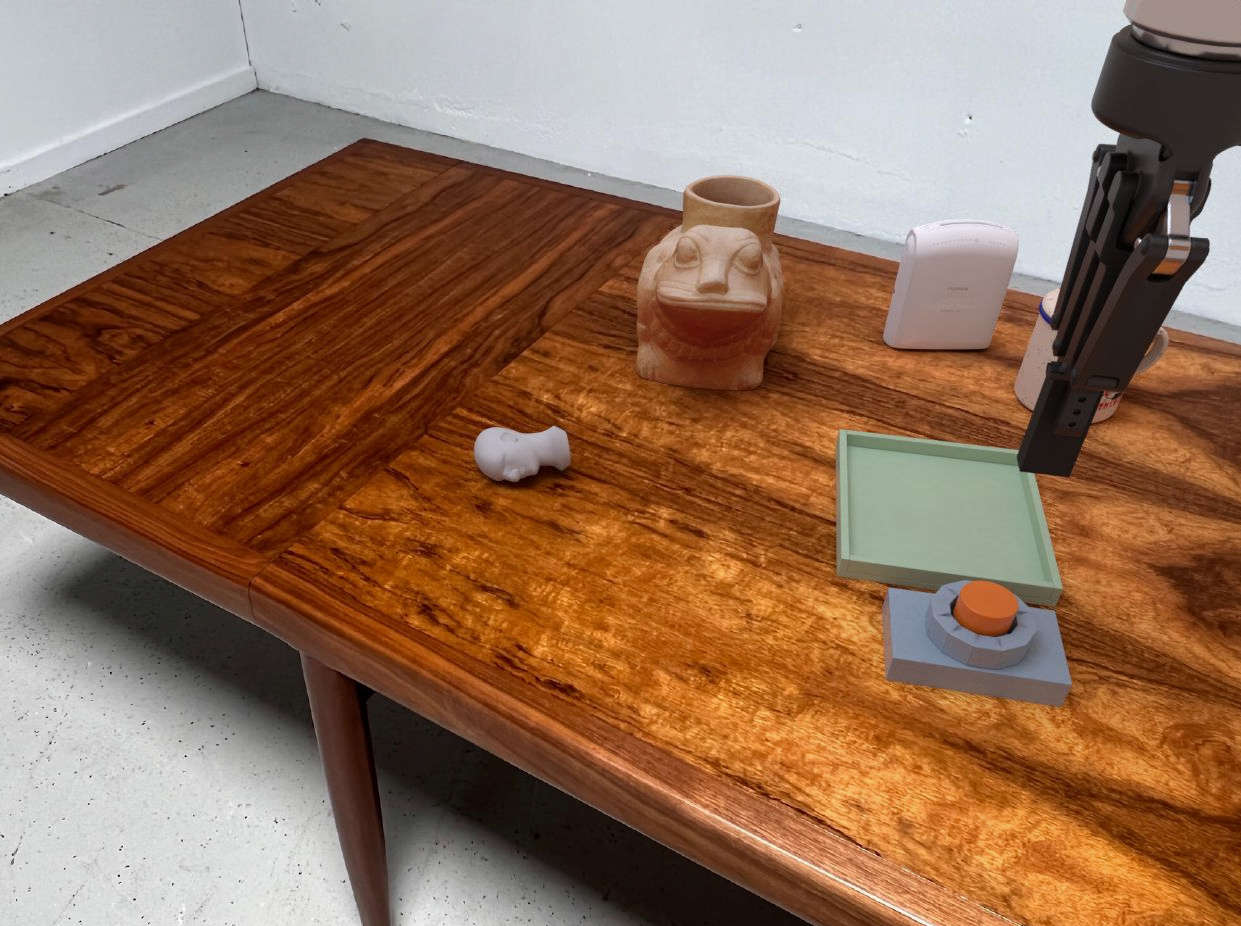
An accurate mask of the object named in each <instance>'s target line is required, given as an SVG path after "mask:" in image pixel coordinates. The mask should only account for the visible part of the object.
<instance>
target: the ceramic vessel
mask: <svg viewBox="0 0 1241 926" xmlns="http://www.w3.org/2000/svg"><path fill="white" fill-rule="evenodd" d="M780 205H781V196H780V194H779V191H778V190H777V189H776V188H775V187H774V186H772V185H770V184H768V183H766V182H764V181H763V180H760V179H757V178H755V177H749V176H744V175H735V174H733V175H732V174H721V175H710V176H705V177H701V178H699V179H697V180H695V181H693V182H690V183H689V184H688V185H686V187H685V189H684V190H683V195H682V221H681V222H682V223H681V225H679V226H677V227H676V228H674V229H672V230H671V231H670V232H668V234H667V235H665V236H664V237H663V238H662V239H661V240H660V242H659V243H658V244H657V245H655V246H653V247H652V248H651V249H650V250H649V251H648V252H647V254H646V256H645V258H644V260H643V264H642V267H641V271H640V275H639V277H638V281H637V287H636V288H637V289H636V309H637V310H636V312H637V313H636V314H637V319H636V336H637V342H638V346H637V351H636V352H637V353H636V360H635V372H636V374H637V375H638V376H639V377H640V378H643V379H645V380H649V381H654V382H659V383H662V384H667V385H672V386H678V387H685V388H693V389H703V390H704V389H705V390H720V391H721V390H723V391H752V390H756V389H758V388H759V387H760V386H762V383H763V381H764V363H765V358H766V357H767V355H768V353H769V352H770V351H772V350H773V349H774V347H775V345H776V344H777V340H778V335H779V331H780V327H781V323H782V311H783V302H784V299H785V291H786V290H785V284H784V283H785V282H784V276H783V275H784V274H783V269H782V264H781V257H780V253H779V250H778V249H777V247H776V246H775V245H774V243H773V239H774V233H775V228H776V223H777V220H778V219H777V218H778V215H779V214H778V213H779V211H780V210H779V209H780Z"/></svg>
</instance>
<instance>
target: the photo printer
mask: <svg viewBox="0 0 1241 926" xmlns="http://www.w3.org/2000/svg"><path fill="white" fill-rule="evenodd" d="M1019 245H1020V240H1019V234H1018V233H1017V232H1016V230H1015V228H1014V227H1011V226H1008V225H1006V224H1003V223H999V222H996V221H991V220H986V219H978V218H977V219H976V218H953V219H952V218H951V219H944V220H937V221H932V222H928V223H923V224H921V225H918V226H915V227H913V228H911V229H910V230H909V231H908V234H907V235H906V238H905V241H904V246H903V249H902V253H901V257H900V262H899V266H898V270H897V274H896V279H895V283H894V287H893V291H892V295H891V296H892V297H891V299H890V304H889V309H888V313H887V316H886V321H885V325H884V330H883V334H882V339H883V341H884V343H885V344H886V345H888V346H889V347H890V348H896V349H907V350H982V349H987V348H989V347H990V345H991V342H992V339H993V336H994V333H995V330H996V327H997V324H998V320H999V317H1000V315H1001V314H1000V313H1001V311H1002V307H1003V305H1004V301H1005V297H1006V294H1007V291H1008V287H1009V284H1010V281H1011V278H1012V274H1013V272H1014V268H1015V265H1016V261H1017V258H1018V253H1019V247H1020V246H1019Z"/></svg>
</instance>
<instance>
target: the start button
mask: <svg viewBox="0 0 1241 926" xmlns="http://www.w3.org/2000/svg"><path fill="white" fill-rule="evenodd" d="M1018 608H1019V604H1018V600H1017V598H1016V597H1015V595H1014V594H1013V593H1012V592H1011V591H1009V590H1008V589H1007V588H1005V587H1003V586H1001V585H999V584H996V583H993V582H989V581H973V582H969V583H967V584H966V585H964V586H963V587H962V589H961V591H960V593H959V596H958V599H957V602H956V604H955V607H954V616H955V619H956V620H957V622H958V623H959V624H960V625H961V626H962V627H964V628H966V629H968V630H970V631H972V632H974V633H976V634H978V635H983V636H990V637H997V636H1001V635H1003V634H1005V633H1007V632H1008V631H1009V630H1010V628H1011V625H1012V623H1013V621H1014V618H1015V616H1016V613H1017V611H1018Z"/></svg>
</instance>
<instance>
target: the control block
mask: <svg viewBox="0 0 1241 926" xmlns="http://www.w3.org/2000/svg"><path fill="white" fill-rule="evenodd" d="M969 582H973V581H969V580H963V581H958V582H954V583H950V584H946V585H943V586H942V587H941V588H940V589H939V590H936V592H935V593H934V592H933V593H931V592H926V591H925V592H924V591H919V590H918V591H917V590H910V589H903V588H897V587H891V586H890V587H888V588H887V591H886V594H885V597H884V600H883V605H882V607H881V619H882V639H883V640H882V641H883V656H884V658H883V659H884V675H885V676H884V677H885V680H886V681H890V682H897V683H903V684H910V685H915V686H921V687H929V688H935V689H942V690H948V691H955V692H961V693H968V694H974V695H979V696H988V697H993V698H1001V699H1004V700H1005V699H1006V700H1012V701H1019V702H1026V703H1031V704H1037V705H1044V706H1045V705H1046V706H1050V707H1051V706H1052V707H1058V708H1062V707H1063V704H1064V702H1065V700H1066V698H1067V696H1068V694H1069V693H1070V691H1071V689H1072V686H1073V682H1072V678H1071V672H1070V670H1069V665H1068V660H1067V656H1066V652H1065V647H1064V643H1063V639H1062V634H1061V629H1060V626H1059V622H1058V618H1057V614H1056V611H1055V610H1053V609H1045V608H1038V607H1032V606H1028V605H1027V603H1024V602H1023V601H1022V600H1021V599H1020V598H1019V597H1018V596H1017V595H1015V594H1014V595H1015V597H1016V598H1017V600H1018V604H1019V608H1018V611H1017V613H1016V616H1015V618H1014V621H1013V623H1012V625H1011V628H1010V630H1009V631H1008V632H1007V633H1005V634H1003V635H1001V636H997V637H990V636H983V635H978V634H976V633H974V632H972V631H970V630H968V629H966V628H964V627H962V626H961V625H960V624H959V623H958V622H957V620H956V619H955V616H954V607H955V604H956V602H957V599H958V596H959V593H960V591H961V589H962V587H963V586H964V585H966V584H967V583H969Z"/></svg>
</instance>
